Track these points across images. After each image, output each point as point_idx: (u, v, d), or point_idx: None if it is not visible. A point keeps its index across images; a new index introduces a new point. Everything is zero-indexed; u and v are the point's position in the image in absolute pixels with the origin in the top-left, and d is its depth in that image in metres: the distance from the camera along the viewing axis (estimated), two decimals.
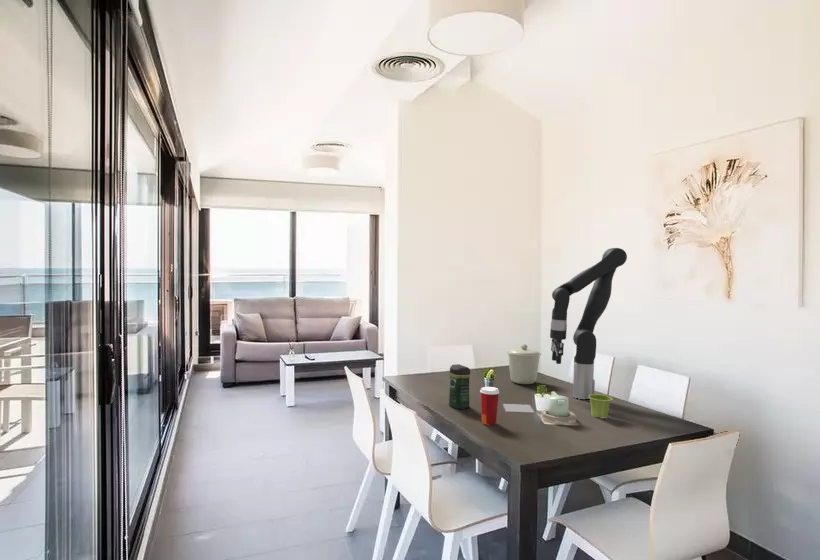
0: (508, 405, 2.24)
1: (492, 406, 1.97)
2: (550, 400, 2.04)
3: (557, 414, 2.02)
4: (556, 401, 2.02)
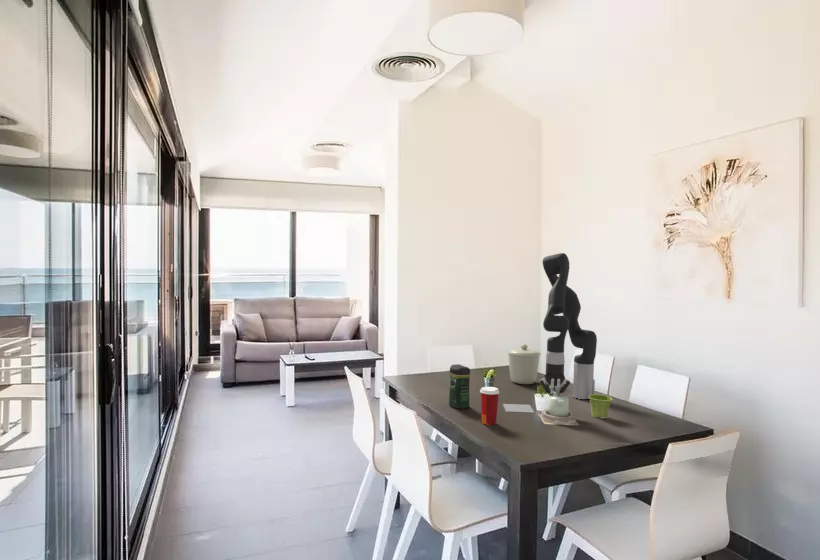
0: (508, 405, 2.24)
1: (492, 406, 1.97)
2: (550, 400, 2.04)
3: (557, 414, 2.02)
4: (556, 401, 2.02)
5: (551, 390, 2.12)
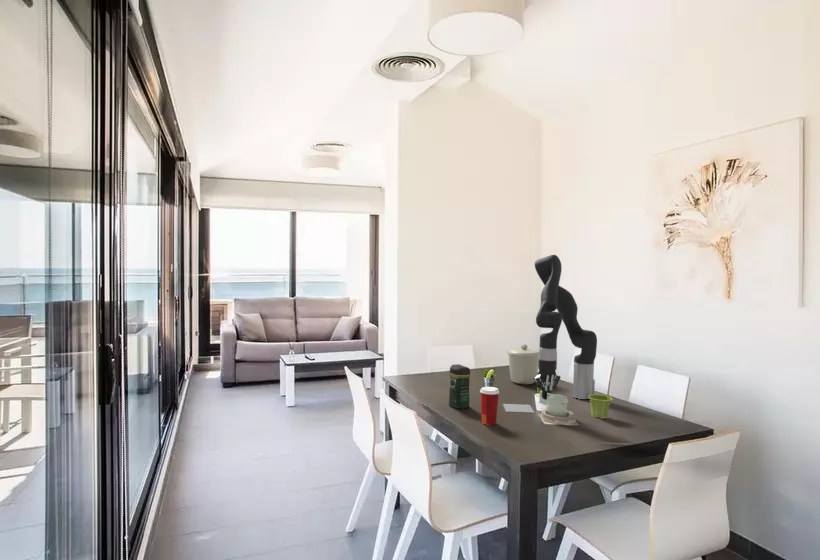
0: (508, 405, 2.24)
1: (492, 406, 1.97)
2: (552, 400, 2.04)
3: (561, 413, 2.03)
4: (560, 400, 2.03)
5: (545, 387, 2.11)
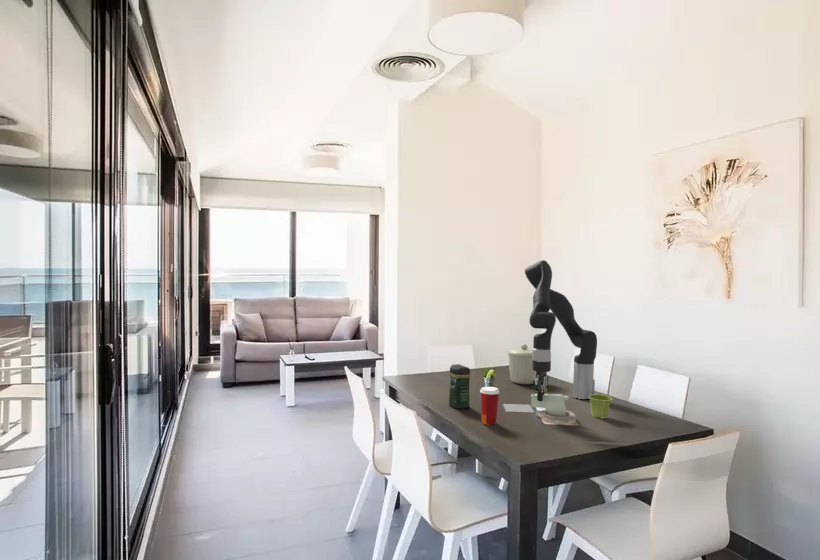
0: (508, 405, 2.24)
1: (492, 406, 1.97)
2: (555, 400, 2.03)
3: (564, 411, 2.03)
4: (562, 398, 2.03)
5: (542, 388, 2.08)
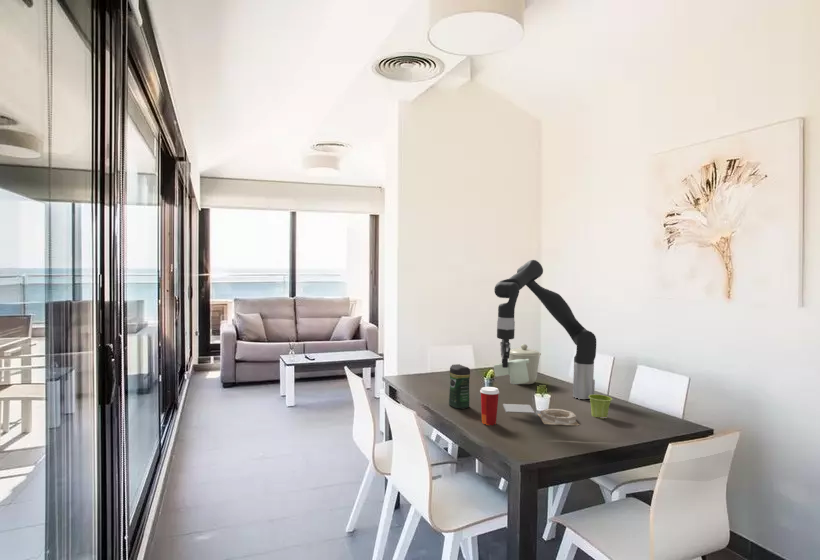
0: (508, 405, 2.24)
1: (492, 406, 1.97)
2: (521, 364, 2.15)
3: (527, 373, 2.18)
4: (525, 362, 2.17)
5: (508, 355, 2.17)
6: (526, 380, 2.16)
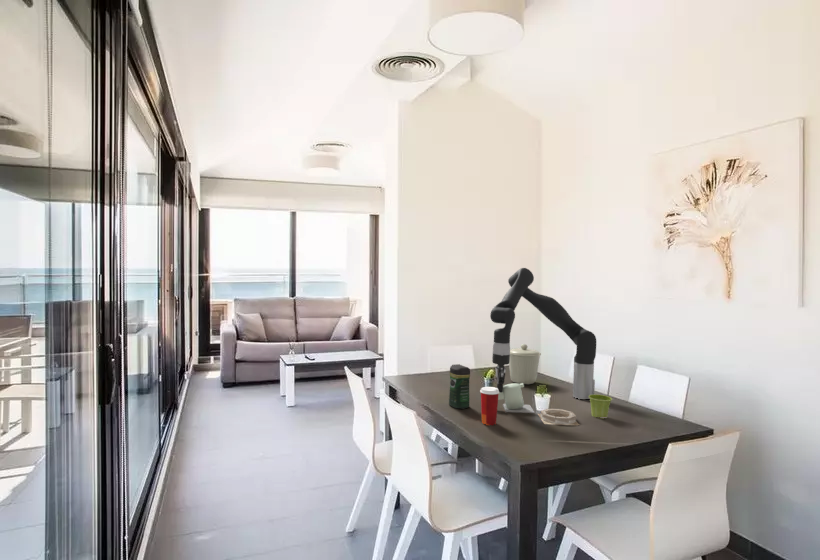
0: None
1: (492, 406, 1.97)
2: (516, 389, 2.17)
3: (522, 398, 2.19)
4: (520, 386, 2.19)
5: (503, 380, 2.19)
6: (521, 405, 2.17)
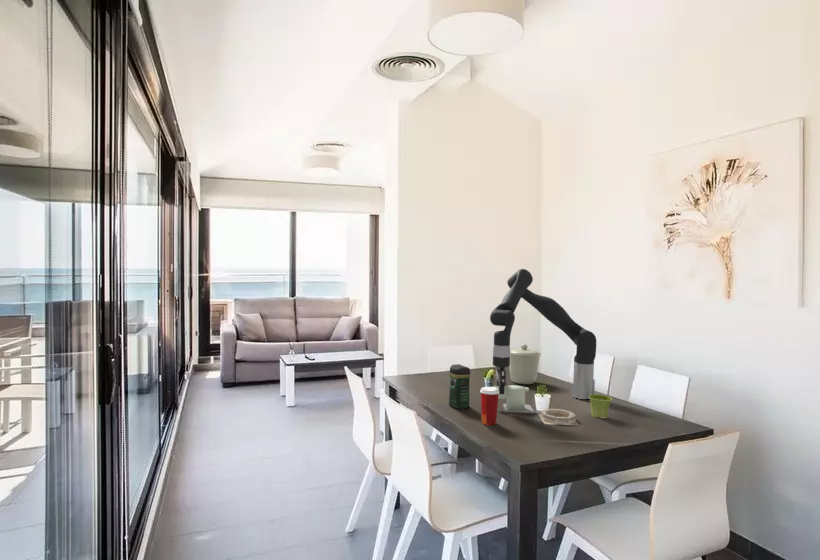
0: None
1: (492, 406, 1.97)
2: (520, 391, 2.17)
3: (524, 401, 2.19)
4: (524, 390, 2.19)
5: None
6: (522, 408, 2.18)
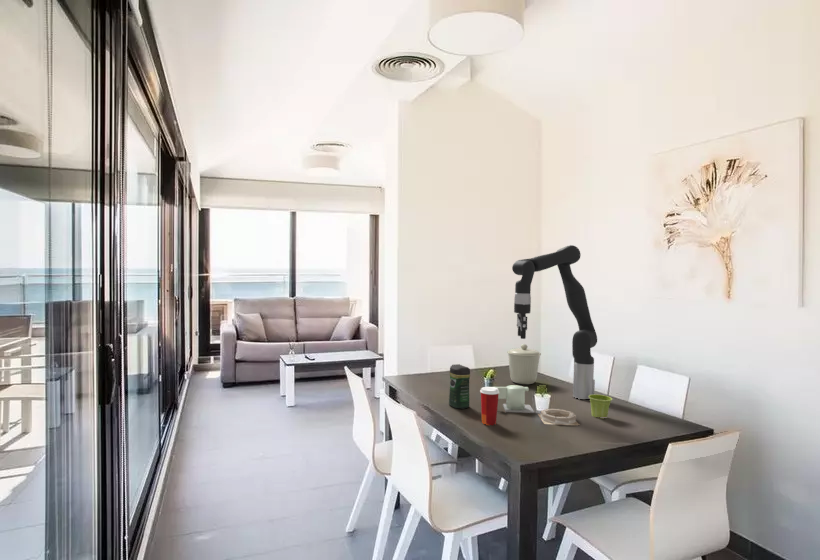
0: None
1: (492, 406, 1.97)
2: (520, 391, 2.17)
3: (524, 401, 2.19)
4: (524, 390, 2.19)
5: None
6: (522, 408, 2.18)
